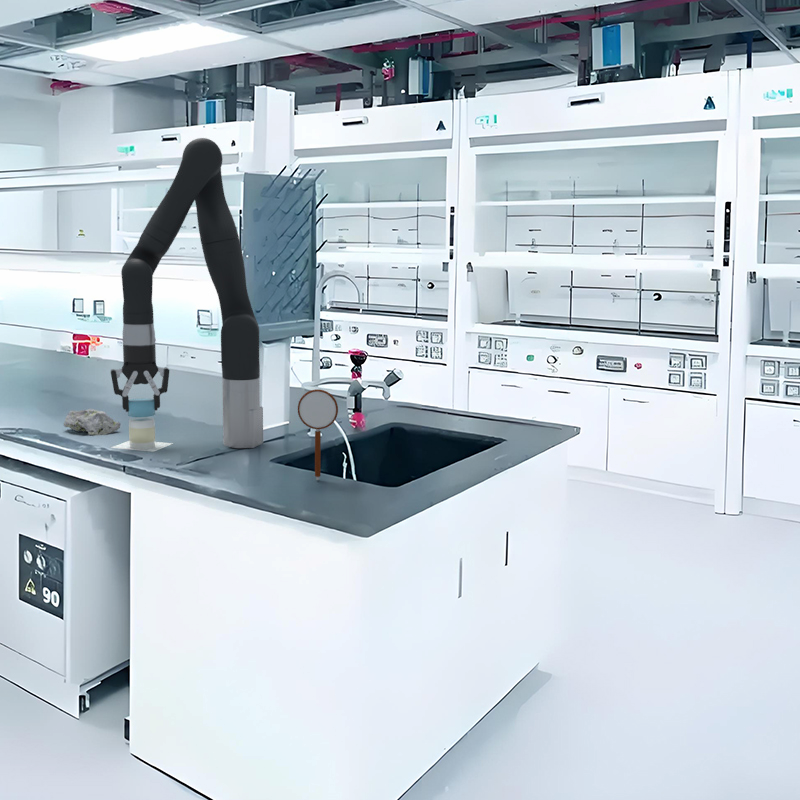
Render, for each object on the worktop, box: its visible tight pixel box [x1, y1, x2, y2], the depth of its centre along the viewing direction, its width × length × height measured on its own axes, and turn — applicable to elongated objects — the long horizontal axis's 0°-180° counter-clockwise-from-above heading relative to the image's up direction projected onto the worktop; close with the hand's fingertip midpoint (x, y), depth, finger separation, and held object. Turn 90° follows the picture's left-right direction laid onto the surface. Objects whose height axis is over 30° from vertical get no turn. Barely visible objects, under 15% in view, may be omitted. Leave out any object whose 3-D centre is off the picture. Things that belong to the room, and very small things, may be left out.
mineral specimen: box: [63, 408, 121, 436], centre depth 228 cm, size 16×7×7 cm, turn 71°
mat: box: [110, 440, 174, 453], centre depth 214 cm, size 12×9×1 cm
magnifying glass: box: [297, 389, 339, 482], centre depth 184 cm, size 9×2×20 cm, turn 89°
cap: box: [127, 398, 156, 418], centre depth 210 cm, size 6×6×4 cm
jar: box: [128, 416, 156, 451], centre depth 211 cm, size 6×6×7 cm
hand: (141, 410), depth 210 cm, fingers closed on cap, 6 cm apart
